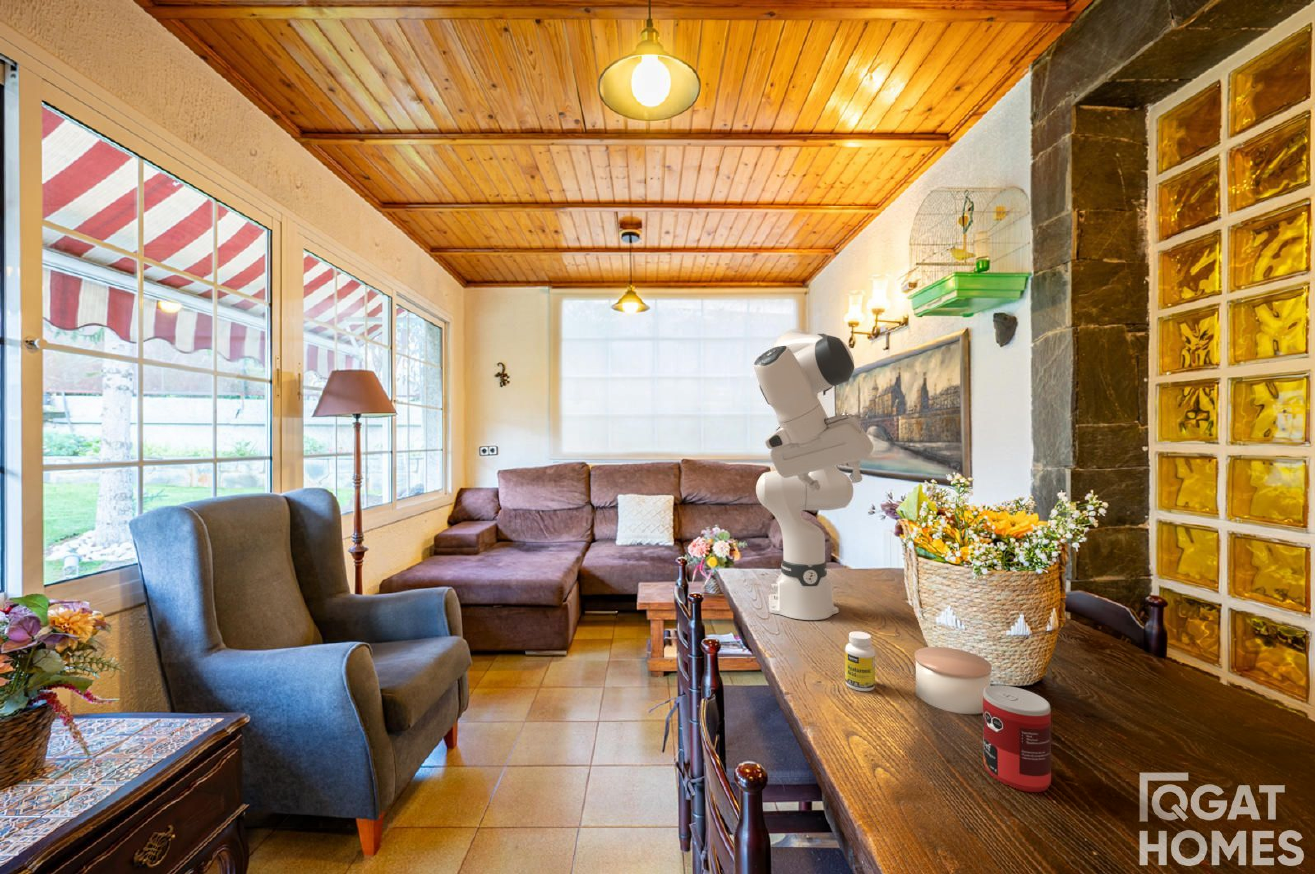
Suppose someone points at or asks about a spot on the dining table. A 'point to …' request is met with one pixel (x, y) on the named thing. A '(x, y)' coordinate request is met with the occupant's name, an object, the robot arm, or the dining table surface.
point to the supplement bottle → (860, 662)
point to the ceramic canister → (952, 679)
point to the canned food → (1017, 737)
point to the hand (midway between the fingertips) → (836, 485)
